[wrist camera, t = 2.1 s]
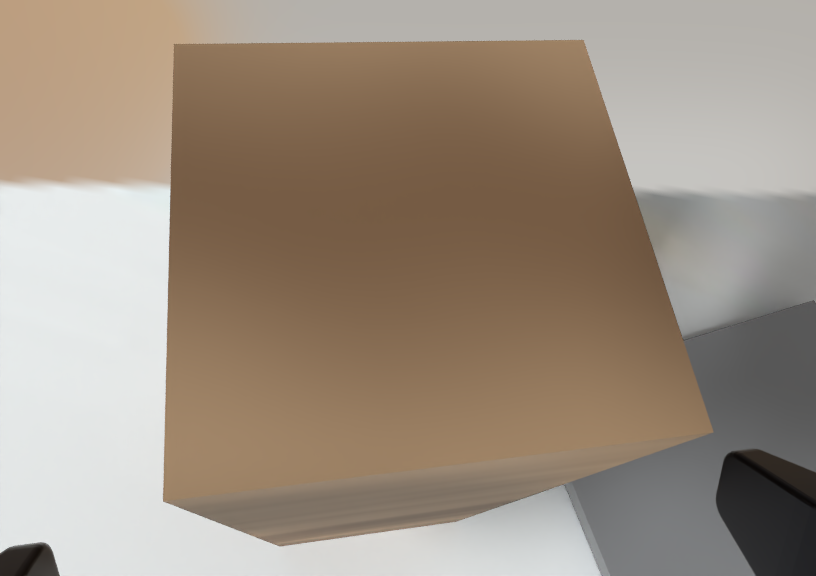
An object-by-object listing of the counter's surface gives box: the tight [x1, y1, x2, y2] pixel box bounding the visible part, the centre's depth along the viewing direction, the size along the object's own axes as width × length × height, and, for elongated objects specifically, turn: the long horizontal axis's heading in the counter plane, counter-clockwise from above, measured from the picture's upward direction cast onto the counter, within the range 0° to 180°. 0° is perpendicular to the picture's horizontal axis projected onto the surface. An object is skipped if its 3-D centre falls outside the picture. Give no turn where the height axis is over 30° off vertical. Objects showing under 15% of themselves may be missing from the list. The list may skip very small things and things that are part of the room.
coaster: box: [565, 300, 816, 576], centre depth 18 cm, size 11×11×1 cm
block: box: [163, 40, 713, 546], centre depth 12 cm, size 5×5×13 cm
